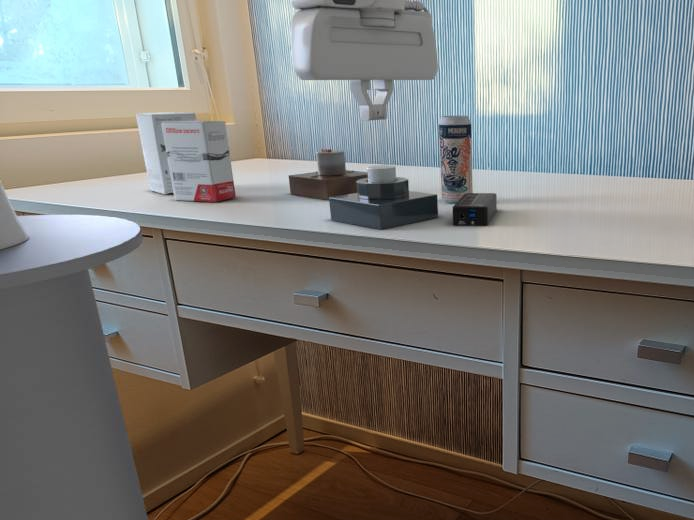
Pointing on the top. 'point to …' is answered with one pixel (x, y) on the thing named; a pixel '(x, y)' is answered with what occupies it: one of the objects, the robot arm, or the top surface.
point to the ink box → (199, 160)
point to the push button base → (383, 205)
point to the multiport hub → (475, 209)
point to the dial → (331, 162)
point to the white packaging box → (158, 147)
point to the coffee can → (455, 157)
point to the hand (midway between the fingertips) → (374, 120)
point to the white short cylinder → (381, 173)
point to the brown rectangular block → (325, 184)
